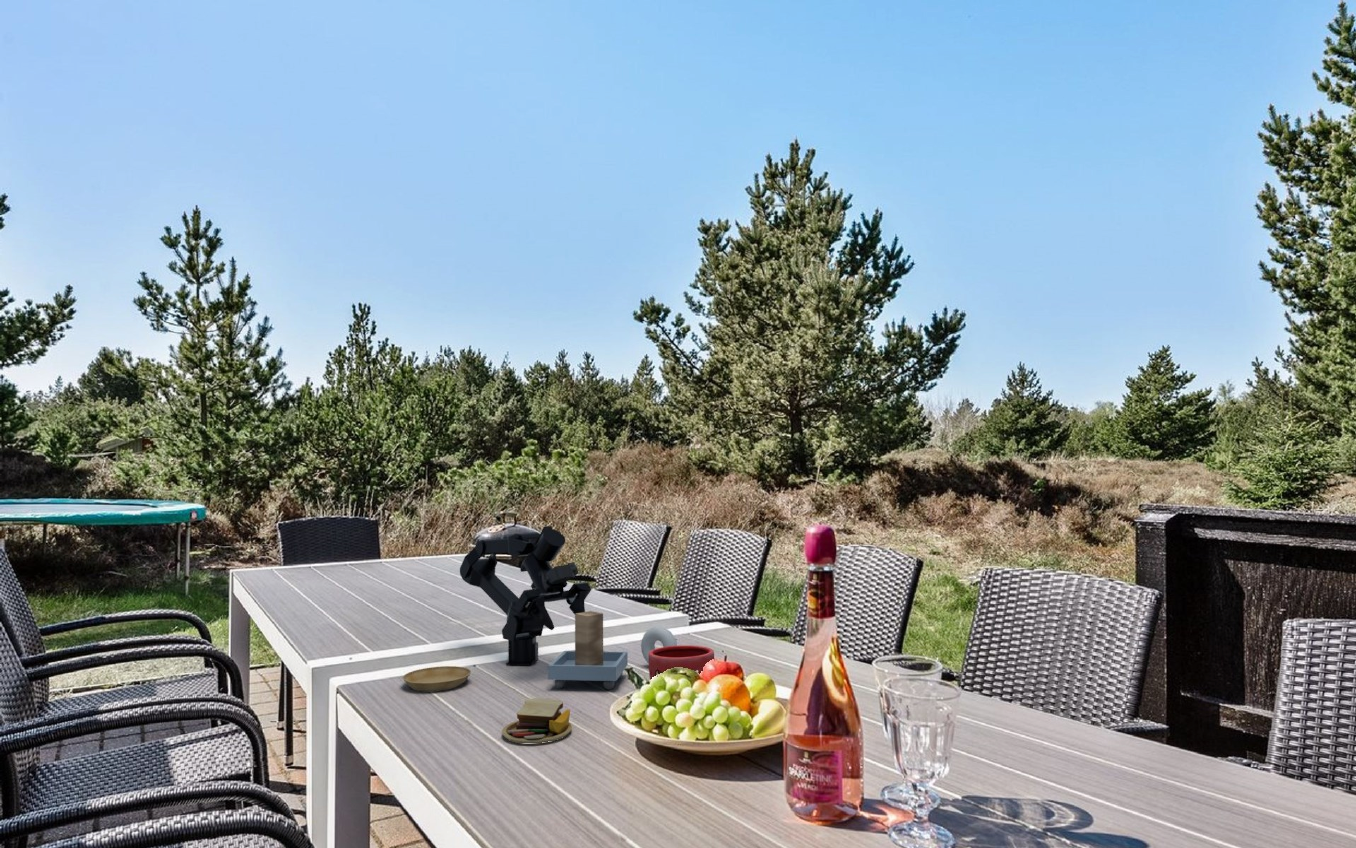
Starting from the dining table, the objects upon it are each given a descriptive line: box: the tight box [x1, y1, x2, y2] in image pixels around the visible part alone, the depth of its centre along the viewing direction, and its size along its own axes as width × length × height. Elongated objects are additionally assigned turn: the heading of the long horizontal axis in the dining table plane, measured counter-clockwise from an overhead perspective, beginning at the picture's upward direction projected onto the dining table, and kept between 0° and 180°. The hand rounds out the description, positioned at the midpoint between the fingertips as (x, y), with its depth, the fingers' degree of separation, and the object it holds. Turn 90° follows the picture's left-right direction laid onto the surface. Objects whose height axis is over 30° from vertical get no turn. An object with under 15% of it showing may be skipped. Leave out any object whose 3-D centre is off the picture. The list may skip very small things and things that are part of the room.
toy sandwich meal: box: [501, 697, 573, 744], centre depth 141 cm, size 12×14×5 cm
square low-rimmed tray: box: [547, 650, 629, 691], centre depth 174 cm, size 15×14×5 cm
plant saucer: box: [402, 665, 472, 693], centre depth 174 cm, size 15×15×3 cm
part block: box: [574, 610, 604, 666], centre depth 174 cm, size 4×4×12 cm
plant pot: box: [648, 644, 715, 680], centre depth 153 cm, size 13×13×12 cm
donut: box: [640, 625, 678, 665], centre depth 186 cm, size 10×3×10 cm, turn 57°
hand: (569, 626), depth 180 cm, fingers open, 9 cm apart
